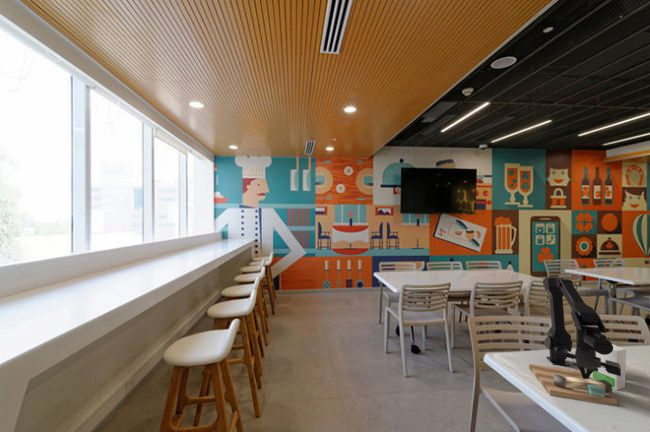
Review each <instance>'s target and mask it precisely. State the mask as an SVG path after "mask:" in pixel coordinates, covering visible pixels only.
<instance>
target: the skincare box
mask: <svg viewBox="0 0 650 432" xmlns="http://www.w3.org/2000/svg"><path fill="white" fill-rule="evenodd" d="M612 345H613V351H612V352H611V353H610V354H607V355H602V354H599V353H598V352H596V357H598V358H601V362H604V363H606V360H609V361H612V362H616V363H619V364H620V366H621V376H617V375H614V374H610V373H608V372H607V371H606V370H605V368H603V367H601V368H598V371H594V372H592V374H591V376H590V377H591V378H592V379H593V380H606V381H607V382H609V383H610V384H611V385H612V390H615V391H618V390H621V389H623V388H626V370H627V369H626V366H627V365H626V364H627V363H626V362H627V349H626V348H624V347H621V346H618V345H616V344H614V343H612Z"/></svg>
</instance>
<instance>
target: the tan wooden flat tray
mask: <svg viewBox="0 0 650 432" xmlns="http://www.w3.org/2000/svg"><path fill="white" fill-rule="evenodd" d="M528 369H529V371H530V372H531V373H532V374H533V375H534V377H535V378H536V379H537V381H538V382H539V383H540V385H542V387H543V388H544V390H545V391H546V393H548V394H549V396H553V397H557V398H558V397H560V398H566V399H572V400H578V401H584V402H589V403H597V404H602V405H603V404H604V405H608V406H614V407H617V406H618V401H617V399H616V398H615V397H614V396H613V395H611V393H608V392H605V389H603V388H602V387H601V386H594V385H588V390H583V389H574V388H561V387H558V386H556V385H555V384H554V375H560V376H564V377H573V378H582V379H583V377H582V374H581V372H580V370H579V369H578V370H577V369H570V368H563V367H555V366H549V365H540V364H532V363H528ZM591 377H592V376H590V377H589V379H592V378H591ZM592 380H593V379H592Z"/></svg>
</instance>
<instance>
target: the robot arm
mask: <svg viewBox="0 0 650 432" xmlns="http://www.w3.org/2000/svg"><path fill="white" fill-rule="evenodd" d="M542 284H543V286H544V290H545V292H546V293H547V295H549V306H550V307H549V309H550V319H551V320H550V322H551V327H550V328H549V330H548V331H547V336H546V337H545V339H544V340H543V342H544V343H543V345H544V347H546V348H547V349H548V350H549V356H546V357H545V358H546V359H547V360H548V361H549V362H550V363H551V364H552V365H556V366H557V365H558V366H566V367H570V364H569V363H568V362H567V361H566V360H567V359H572V360H573V365H574V366H576V367H577V368H578V370H579V371H580V372H581V374H582V377H583V379H589V377H591V376H592V372H594V371H598V368H601V367H603V368H605V370H606V371H607V372H608V373H610V374H614V375H617V376H621V366H620V364H619V363H616V362H612V361H609V360H606V363H604V362H601V358H598V357H596V352H598V353H599V354H602V355H607V354H610V353H611V352H612V351H613V345H614V344H613V343H612V342H611V341H610V340H609V339H607V335H606V333H607V331H606V326H605V324H604V322H603V321H602V318H601V317H600V315H599V314H598V313H597V312H596V310H595V309H594V308H593V307H592V306H590V305H588V304H586V302H585V301H584V300H583V298H582V296H581V295H580V293H579V291H578V290H577V288H576V287H575V286H574V282H573V280H572V279H569V278H564V277H559V276H546V277H545V278H543V280H542ZM563 298H565V300H566V301H567V303H568V304H569V306H570V308H571V311H570V315H571V319H572V321H573V322H574V324H573V326H574V327H575V353H571V352H572V348H573V343H574V342H573V341H572V335H571V334H570V333H569V332H568V330H566V326H565V325H566V323H565V311H564V310H565V309H564V299H563ZM612 344H613V345H612Z"/></svg>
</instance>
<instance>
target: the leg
mask: <svg viewBox="0 0 650 432" xmlns="http://www.w3.org/2000/svg"><path fill="white" fill-rule="evenodd" d="M554 384H555V385H556V386H558V387H561V388H574V389H583V390H588V385H594V386H601V387H602V388H603V389H605V392H608V393H609V394H613V388H612V385H611V384H610V383H609V382H607V381H606V380H592V379H582V378H573V377H564V376H560V375H554Z"/></svg>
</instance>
